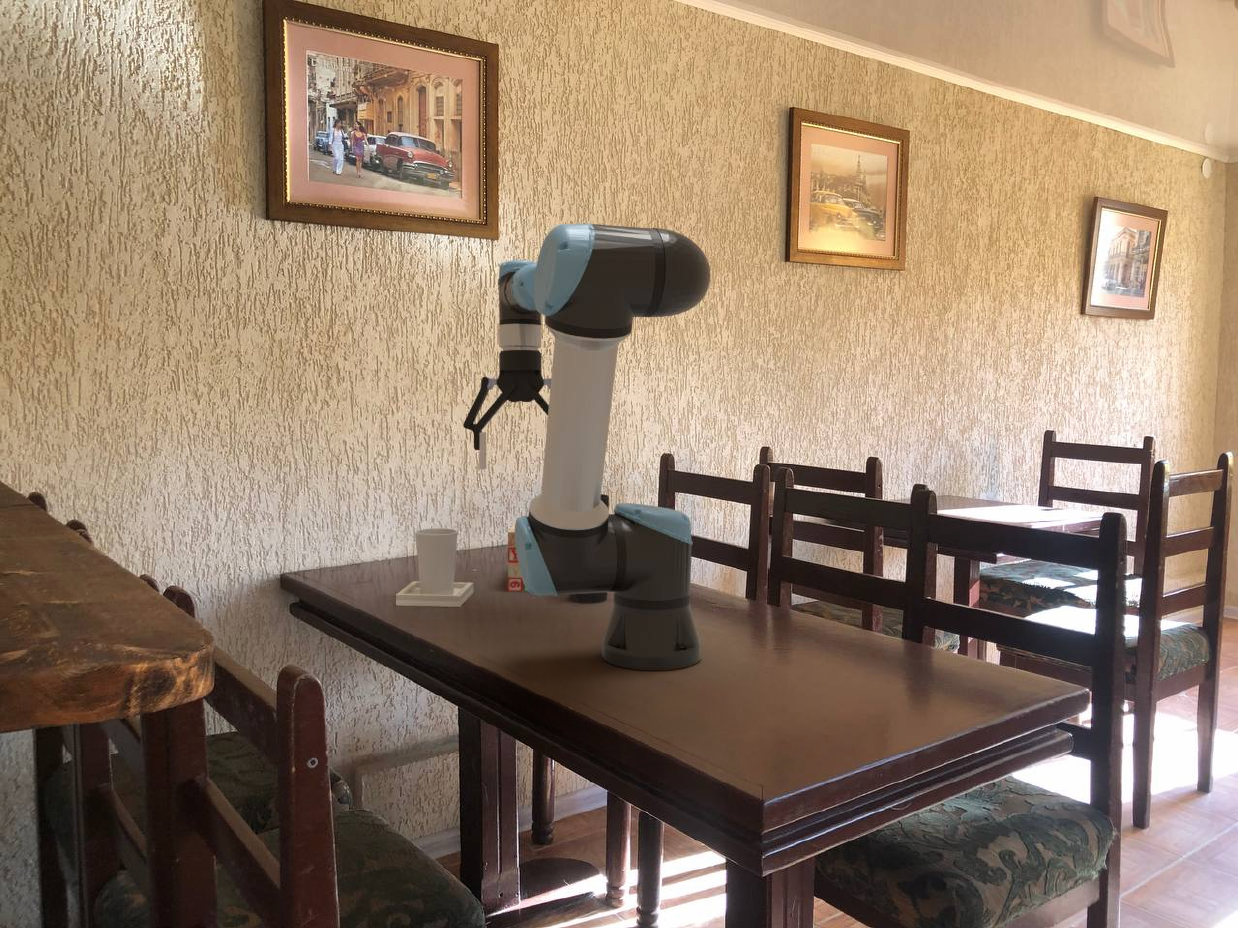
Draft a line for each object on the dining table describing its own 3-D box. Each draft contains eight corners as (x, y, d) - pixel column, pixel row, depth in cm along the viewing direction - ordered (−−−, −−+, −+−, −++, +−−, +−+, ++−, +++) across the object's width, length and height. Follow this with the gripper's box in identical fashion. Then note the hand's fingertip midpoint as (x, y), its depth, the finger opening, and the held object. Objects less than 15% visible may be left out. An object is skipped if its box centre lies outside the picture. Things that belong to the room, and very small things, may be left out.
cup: (448, 599, 183) (448, 535, 182) (408, 597, 185) (408, 533, 184) (464, 590, 191) (463, 529, 190) (425, 588, 193) (424, 527, 192)
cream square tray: (460, 606, 182) (460, 596, 182) (395, 605, 182) (395, 594, 182) (473, 592, 194) (473, 582, 193) (413, 591, 194) (413, 581, 194)
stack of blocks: (517, 571, 216) (517, 515, 215) (545, 571, 216) (546, 515, 215) (507, 592, 195) (507, 530, 194) (538, 592, 195) (539, 531, 194)
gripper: (591, 351, 179) (591, 467, 180) (454, 351, 179) (455, 467, 181) (589, 348, 171) (589, 470, 173) (446, 348, 172) (447, 470, 173)
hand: (520, 469), depth 177 cm, fingers open, 13 cm apart
